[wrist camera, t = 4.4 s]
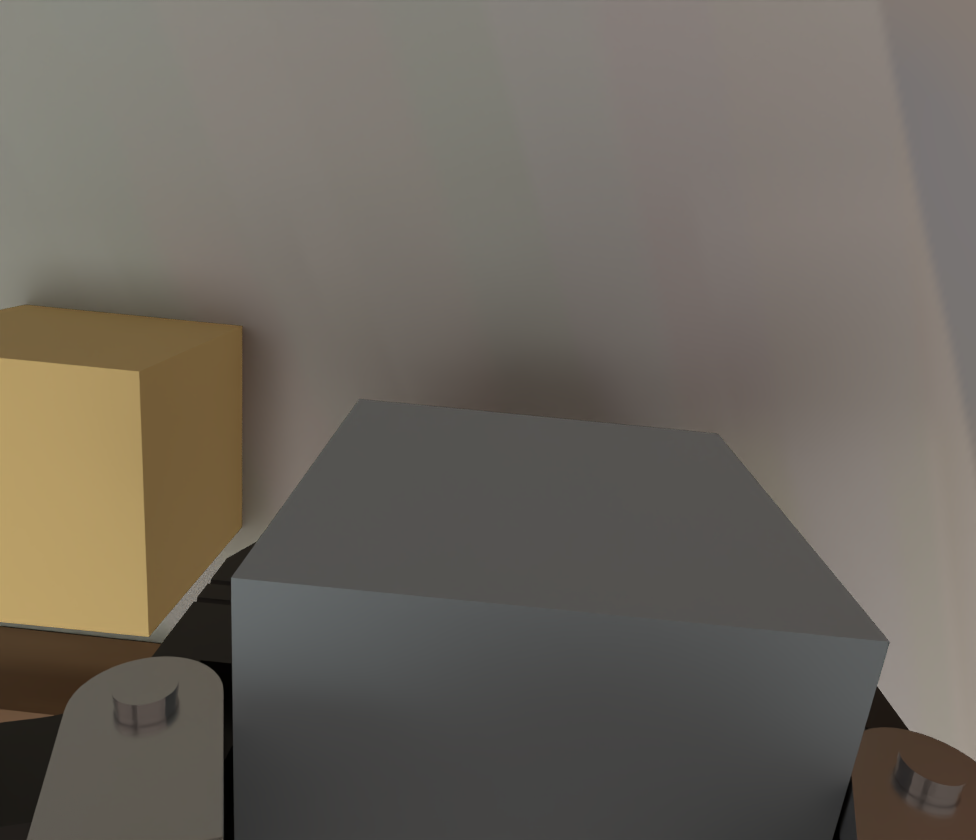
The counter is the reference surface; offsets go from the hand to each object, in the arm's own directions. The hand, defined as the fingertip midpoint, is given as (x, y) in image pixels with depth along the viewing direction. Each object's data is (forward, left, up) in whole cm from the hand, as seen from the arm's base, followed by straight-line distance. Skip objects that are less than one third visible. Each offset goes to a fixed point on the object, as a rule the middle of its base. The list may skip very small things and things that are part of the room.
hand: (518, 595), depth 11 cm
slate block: (0, 0, -1) cm, 1 cm away
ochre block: (0, -9, -7) cm, 12 cm away
